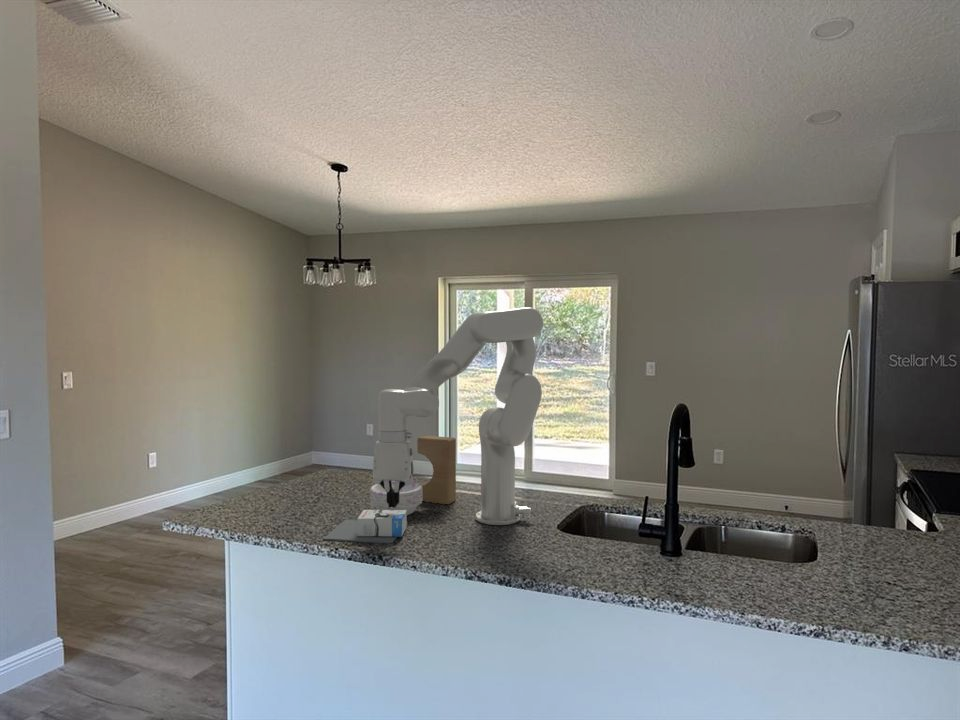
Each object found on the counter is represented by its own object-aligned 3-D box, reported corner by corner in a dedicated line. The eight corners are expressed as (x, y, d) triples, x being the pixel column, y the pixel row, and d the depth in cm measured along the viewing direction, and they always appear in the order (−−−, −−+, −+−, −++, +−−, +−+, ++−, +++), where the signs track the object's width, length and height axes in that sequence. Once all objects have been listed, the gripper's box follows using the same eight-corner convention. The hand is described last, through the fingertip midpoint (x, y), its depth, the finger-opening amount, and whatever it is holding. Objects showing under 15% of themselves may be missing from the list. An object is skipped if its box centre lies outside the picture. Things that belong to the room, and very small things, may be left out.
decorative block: (416, 501, 192) (416, 437, 191) (425, 496, 197) (425, 435, 196) (448, 505, 187) (448, 440, 186) (456, 500, 192) (456, 437, 191)
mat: (408, 523, 168) (408, 522, 168) (392, 543, 153) (392, 541, 153) (345, 521, 171) (345, 519, 171) (323, 540, 155) (323, 538, 155)
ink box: (402, 518, 156) (356, 518, 156) (402, 537, 156) (356, 537, 156) (406, 508, 164) (363, 508, 164) (406, 527, 164) (363, 526, 165)
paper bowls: (361, 518, 174) (361, 490, 173) (382, 504, 188) (382, 478, 188) (412, 522, 170) (412, 494, 170) (429, 507, 185) (429, 481, 184)
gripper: (424, 435, 162) (424, 503, 163) (369, 433, 164) (370, 501, 165) (417, 439, 155) (417, 511, 156) (360, 438, 157) (360, 509, 158)
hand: (393, 506), depth 160 cm, fingers closed
